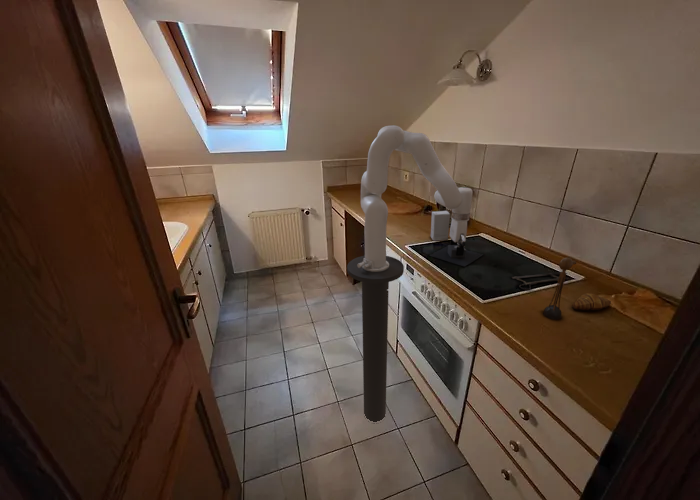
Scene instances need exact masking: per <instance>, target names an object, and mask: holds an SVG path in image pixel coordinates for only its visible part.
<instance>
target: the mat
mask: <svg viewBox="0 0 700 500" xmlns="http://www.w3.org/2000/svg"><path fill="white" fill-rule="evenodd" d="M428 256H429V257H432V258H434V259H438V260H441V261H443V262H446V263H450V264H453V265H456V266H460V267H463V268H466V267H467V266H468V265H470V264H473V263H474V262H475V261H477V260H478V259H480V258H481V257H483V256H484V254H483V253H480V252H475V251H472V250H469V249H466V256H465V258H451V257H450V255H449V254H448V245H446V246H443V247H442V248H440V249H438V250H436V251H434V252H432V253H429V254H428Z"/></svg>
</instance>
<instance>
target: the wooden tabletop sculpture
mask: <svg viewBox="0 0 700 500" xmlns="http://www.w3.org/2000/svg"><path fill="white" fill-rule="evenodd" d="M558 263H559V264H558V267H559V269H560V270H562V272H561V271H559V272H560V275H558V277H559V279H558V281H557V283H556V287H555V290H554V292H553V296H552V298H551V300H550V302H549V304H548V305H547V306H546V307H544V310H543V313H542V315H543V316H544V317H546V318H547V319H550V320H556V321H559V320H561V319H562V315H563V314H562V313H563V312H562V310H561V298H562V292H563V289H564V288H563V287H564V284H565V282H566V279H565V278H567V274H568V273H567V271H568V270H570V269H571V268H572V267H573V266H574V265H576V264H577V261H576V260H573V259H572V258H570V257H563V258H562V259H561V260H560V261H559V262H558ZM560 277H561V278H560ZM552 303H553V304H552ZM557 304H558V306H557Z"/></svg>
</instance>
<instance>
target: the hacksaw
mask: <svg viewBox="0 0 700 500" xmlns="http://www.w3.org/2000/svg"><path fill="white" fill-rule="evenodd" d="M562 271H563V270H562ZM562 271H557V272H556V271H555V272H548V273H538V274H530V275H529V274H528V275H520V276H517V275H516V276H511V278H512V279H513V280H517V281H519V282H522V284H520V285H519V286H518V287H519V289H522V290H524V291H525V290H526V291H528V290H531V289H532V287H531V286H533V285H537V284H542V283H549V282H558V279H559V276H560V272H562ZM545 276H549V277H552V278H549V279H542V280H533V281H529V282H527V281H525V280H523V279H526V278H527V279H528V278H535V277H545ZM560 278H561V277H560ZM565 280H568V281H569V282H571V281H572V280H571V279H570V278H569V277H565ZM521 286H529V287H528V288H524V287H521Z"/></svg>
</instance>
